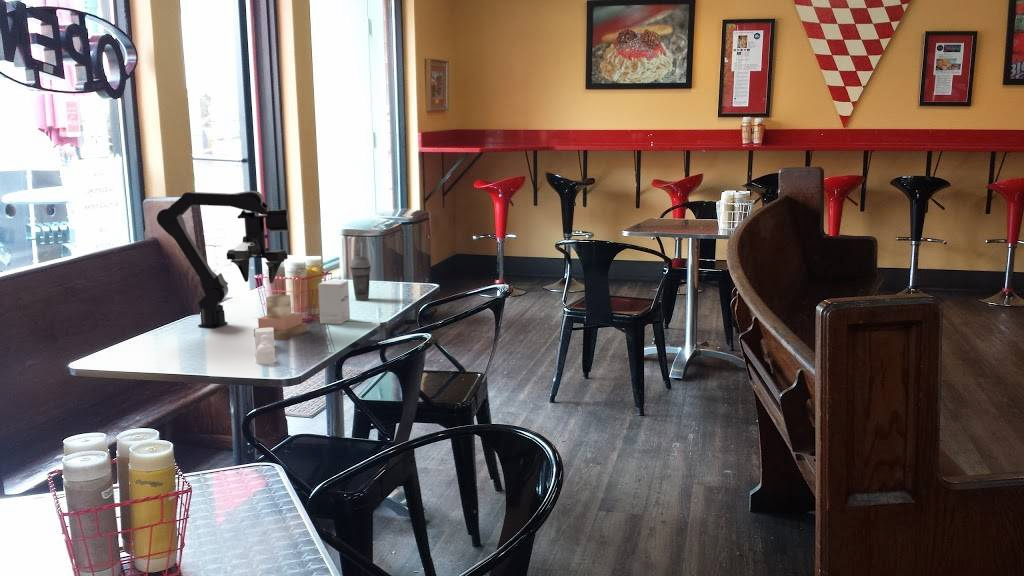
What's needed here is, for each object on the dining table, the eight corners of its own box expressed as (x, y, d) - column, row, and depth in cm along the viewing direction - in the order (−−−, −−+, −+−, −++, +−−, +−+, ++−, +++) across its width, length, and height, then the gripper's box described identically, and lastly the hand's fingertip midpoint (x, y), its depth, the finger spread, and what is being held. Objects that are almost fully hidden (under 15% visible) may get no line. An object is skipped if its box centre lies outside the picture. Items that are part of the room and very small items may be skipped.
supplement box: (341, 324, 275) (339, 284, 273) (319, 323, 276) (317, 283, 274) (350, 319, 282) (348, 279, 280) (328, 318, 284) (326, 279, 281)
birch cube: (267, 317, 262) (265, 297, 261) (277, 313, 266) (276, 294, 265) (281, 318, 260) (280, 298, 259) (291, 315, 265) (290, 295, 264)
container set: (255, 347, 251) (254, 328, 249) (275, 345, 252) (273, 326, 251) (255, 365, 232) (254, 345, 231) (276, 364, 233) (274, 343, 232)
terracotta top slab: (258, 328, 261) (258, 318, 261) (276, 321, 270) (275, 312, 269) (285, 330, 258) (284, 320, 258) (302, 323, 267) (301, 313, 266)
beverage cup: (362, 296, 317) (359, 240, 313) (377, 298, 313) (374, 242, 309) (347, 300, 311) (344, 243, 307) (362, 302, 307) (359, 245, 303)
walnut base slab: (254, 338, 261) (253, 328, 261) (277, 330, 272) (276, 320, 271) (286, 341, 258) (285, 331, 257) (307, 332, 268) (307, 323, 267)
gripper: (212, 234, 269) (217, 285, 272) (264, 236, 262) (268, 288, 265) (236, 230, 279) (240, 279, 282) (286, 231, 272) (290, 282, 275)
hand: (258, 282), depth 276 cm, fingers open, 9 cm apart
